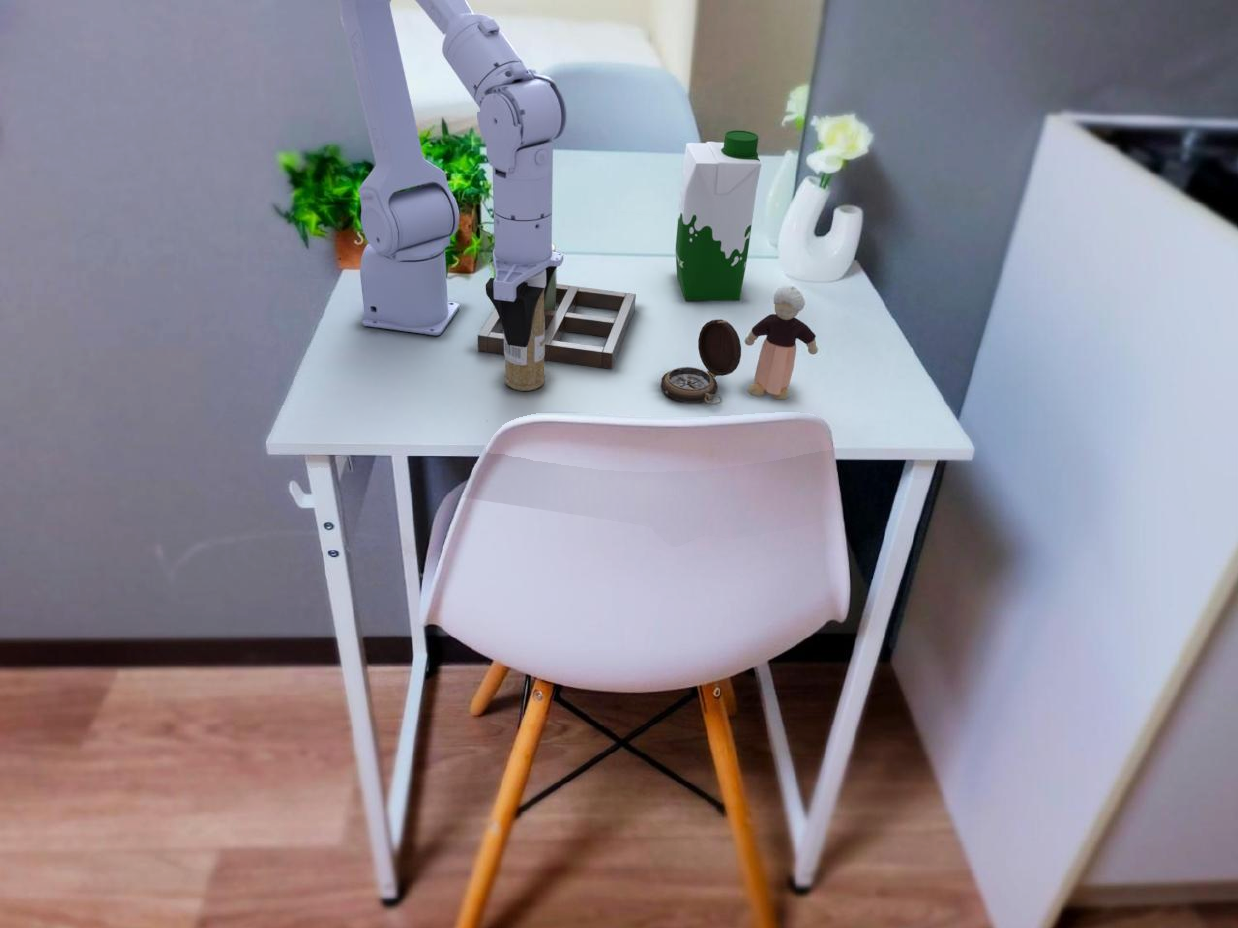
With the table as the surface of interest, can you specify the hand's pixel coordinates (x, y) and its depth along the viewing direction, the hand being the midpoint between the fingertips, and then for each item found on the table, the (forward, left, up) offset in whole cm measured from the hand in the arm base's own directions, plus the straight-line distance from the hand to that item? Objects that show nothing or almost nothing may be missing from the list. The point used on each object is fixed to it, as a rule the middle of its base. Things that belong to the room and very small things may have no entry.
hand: (523, 333), depth 104 cm
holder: (+1, +13, -6) cm, 14 cm away
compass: (+19, +3, -6) cm, 20 cm away
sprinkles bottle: (0, 0, -6) cm, 6 cm away
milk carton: (+17, +29, -6) cm, 34 cm away
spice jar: (-3, +17, -6) cm, 18 cm away
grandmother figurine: (+27, +5, -6) cm, 28 cm away
